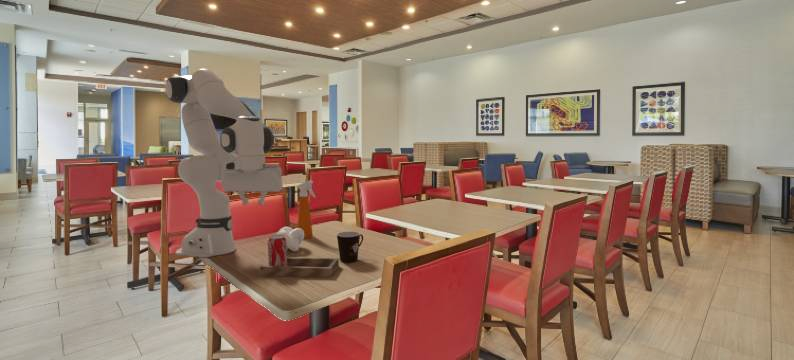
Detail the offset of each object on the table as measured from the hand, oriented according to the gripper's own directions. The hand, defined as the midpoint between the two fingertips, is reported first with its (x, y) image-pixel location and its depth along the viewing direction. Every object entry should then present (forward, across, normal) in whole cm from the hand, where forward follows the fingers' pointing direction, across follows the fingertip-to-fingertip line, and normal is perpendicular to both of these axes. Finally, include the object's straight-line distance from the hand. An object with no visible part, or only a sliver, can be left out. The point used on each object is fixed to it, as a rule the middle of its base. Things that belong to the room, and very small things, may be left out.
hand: (253, 204), depth 144 cm
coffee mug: (+23, -32, -14) cm, 42 cm away
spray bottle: (+23, -5, -47) cm, 53 cm away
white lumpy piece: (+23, -2, -26) cm, 35 cm away
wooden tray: (+23, -16, 0) cm, 28 cm away
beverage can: (+23, -8, 0) cm, 25 cm away
